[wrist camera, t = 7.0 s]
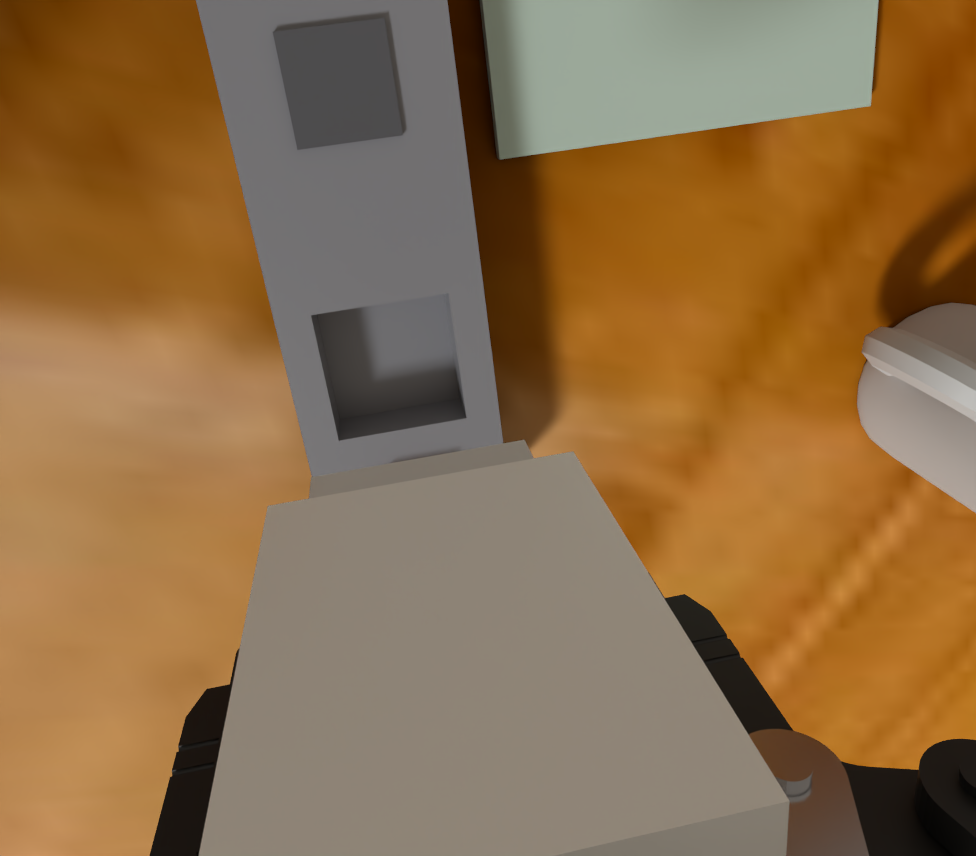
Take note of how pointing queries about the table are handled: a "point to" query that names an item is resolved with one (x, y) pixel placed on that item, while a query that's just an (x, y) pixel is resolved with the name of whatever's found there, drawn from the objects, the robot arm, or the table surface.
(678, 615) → the robot arm
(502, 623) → the block
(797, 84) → the rubber mat
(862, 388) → the cup
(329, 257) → the power strip
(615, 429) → the table surface
